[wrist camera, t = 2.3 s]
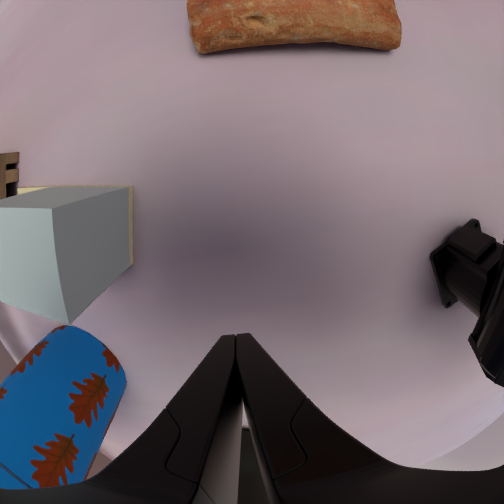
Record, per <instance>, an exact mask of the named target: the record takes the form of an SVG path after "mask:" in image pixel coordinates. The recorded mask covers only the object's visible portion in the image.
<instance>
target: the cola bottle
mask: <svg viewBox="0 0 504 504" xmlns="http://www.w3.org/2000/svg"><path fill="white" fill-rule="evenodd" d="M237 504H270V502H269V499H268V495H267V492H266V488H265V485H264V481H263V478H262V474H261V471H260V467H259V463H258V460H257V456H256V452H255V448H254V444H253V441H252V437H251V433H250V431H244V430H242V431H241V448H240V465H239V482H238V498H237Z"/></svg>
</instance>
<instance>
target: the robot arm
mask: <svg viewBox="0 0 504 504" xmlns="http://www.w3.org/2000/svg"><path fill="white" fill-rule="evenodd" d="M503 243H504V241H503ZM436 256H437V257H436ZM435 257H436V259H435ZM430 260H431V263H432V266H433V269H434V273H435V276H436V280H437V283H438V287H439V291H440V295H441V299H442V303H443V306H444V307H445V308H449V307H450V306H452V305H453V304H454V303H455V302H456V301H458V300H459V301H460V302H461V303H463V304H464V305H465V306H466V307H467V308H468V309H470V310H471V311H472V312H473V313H474V314H475V315H476V316H478V317H479V319H478V321H477V323H476V326H475V328H474V330H473V332H472V333H471V334H470V336H469V338H468V341H469V343H470V345H471V347H472V349H473V351H474V353H475V355H476V357H477V359H478V361H479V363H480V366H481V368H482V370H483V372H484V373H485V375H486V377H487V378H489V379H490V380H492V381H493V382H494V383H495V384H498V385H500V386H502V387H504V245H502V244H500V243H498V242H496V239H495V238H493V237H491V236H489V235H487V234H485V233H482V232H481V227H480V223H479V221H478V220H477V219H472V220H471V221H470V222H469V223H468V224H467V225H466V226H464V227H463V228H462V229H460V230H459V231H458V232H457V233H456V234H454V235H453V236H452V237H451V238H449V239H448V241H446V242H445V243H444V244H443V245H441V246H440V247H439V248H438V249H436V250H435V251H434V252H433V253H432V254H431V256H430ZM243 403H244V408H245V412H246V417H247V421H248V425H249V429H250V433H251V437H252V441H253V444H254V448H255V452H256V456H257V460H258V463H259V467H260V471H261V474H262V478H263V481H264V485H265V488H266V492H267V495H268V499H269V502H270V504H504V465H502V466H500V467H498V468H494V469H490V470H484V471H444V470H430V469H420V468H411V467H405V466H402V465H398V464H396V463H393V462H391V461H389V460H387V459H385V458H383V457H382V456H380V455H378V454H377V453H375V452H374V451H373V450H371V449H370V448H368V447H367V446H365V445H364V444H362V443H361V442H360V441H358V440H357V439H355V438H354V437H353V436H351V435H350V434H348V433H347V432H346V431H344V430H343V429H342V428H340V427H339V426H338V425H337V424H335V423H334V422H333V421H332V420H330V419H329V418H328V417H327V416H326V415H325V414H324V413H323V412H322V411H321V410H320V409H319V408H318V407H317V406H316V405H315V404H314V403H313V402H312V401H311V400H310V399H309V398H307V396H306V395H305V394H304V393H303V392H302V391H301V390H300V389H299V388H298V386H297V385H296V384H295V383H294V382H293V381H292V380H291V379H290V378H289V377H288V376H287V374H286V373H285V372H284V371H283V370H282V369H281V368H280V367H279V366H278V364H277V363H276V362H275V361H274V360H273V359H272V358H271V357H270V355H269V354H268V353H267V352H266V351H265V350H264V349H263V347H262V346H261V345H260V344H259V343H258V342H257V341H256V339H255V338H254V337H253V336H252V335H251V334H250V333H243V334H237V335H236V336H235V335H234V334H232V335H222V336H221V337H220V338H219V340H218V341H217V342H216V343H215V345H214V346H213V347H212V349H211V350H210V351H209V353H208V354H207V355H206V356H205V358H204V359H203V360H202V362H201V363H200V364H199V365H198V367H197V368H196V369H195V371H194V372H193V373H192V374H191V376H190V377H189V378H188V379H187V381H186V382H185V383H184V385H183V386H182V387H181V388H180V390H179V391H178V392H177V393H176V395H175V396H174V397H173V398H172V400H171V401H170V402H169V403H168V405H167V406H166V408H165V409H163V411H162V412H161V413H160V414H159V415H158V417H157V418H156V419H155V420H154V421H153V422H152V424H151V425H150V426H149V427H148V428H147V429H146V430H145V431H144V432H143V433H142V434H141V435H140V436H139V437H138V438H137V439H136V440H135V441H134V442H133V443H132V444H131V445H130V446H129V447H128V448H127V449H126V450H124V451H123V452H122V453H121V454H120V455H119V456H118V457H117V458H115V459H114V460H113V461H112V462H111V463H110V464H109V465H108V466H106V467H105V468H104V469H103V470H102V471H100V472H99V473H98V474H97V475H95V476H93V477H92V478H89V479H87V480H85V481H82V482H79V483H74V484H68V485H61V486H53V487H44V488H32V489H2V488H0V504H237V498H238V482H239V465H240V448H241V431H242V414H243Z"/></svg>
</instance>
